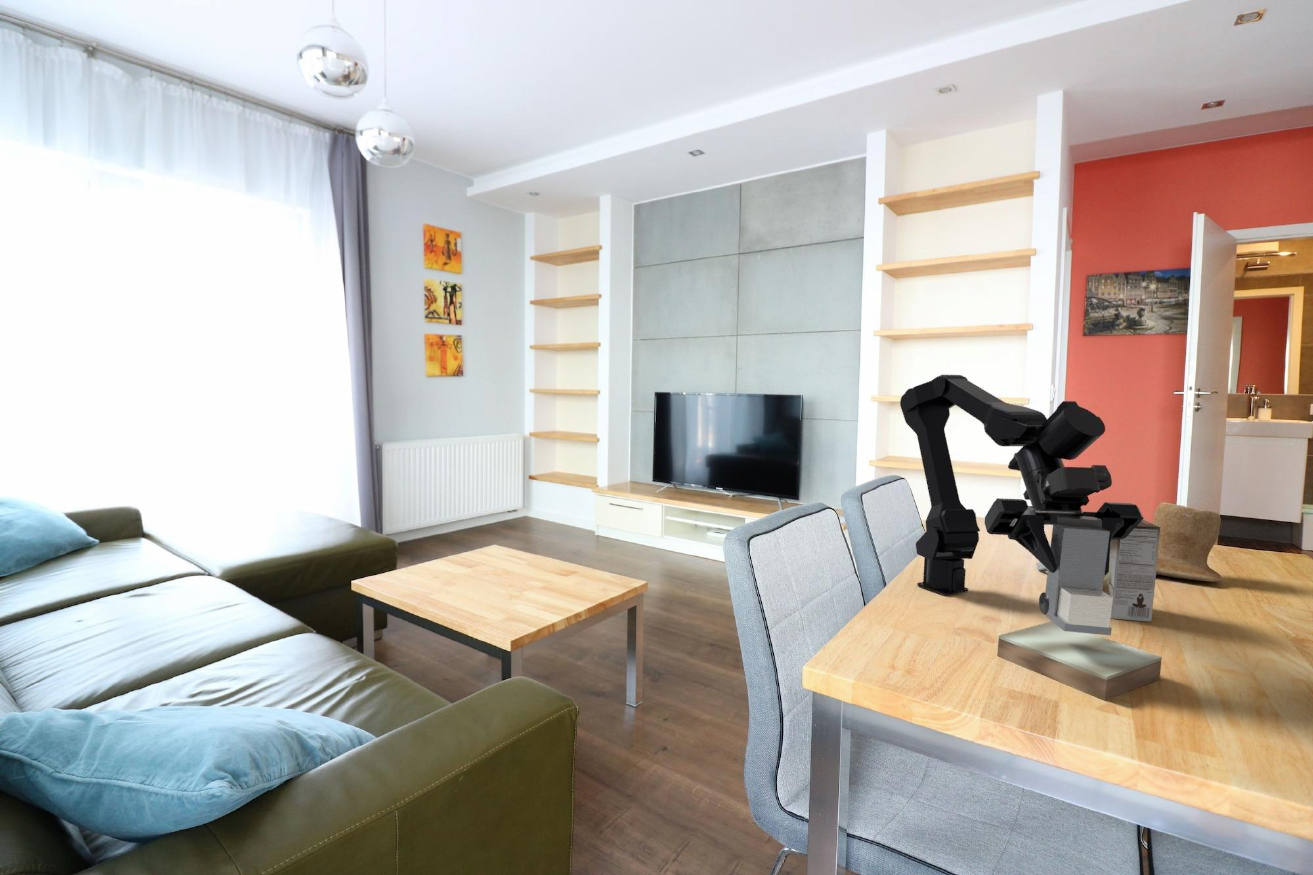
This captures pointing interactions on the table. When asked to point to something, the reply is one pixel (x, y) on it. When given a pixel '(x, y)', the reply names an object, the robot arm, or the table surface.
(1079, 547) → the hand trolley
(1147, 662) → the plate
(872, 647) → the table surface
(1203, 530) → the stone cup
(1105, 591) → the coffee box
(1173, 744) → the table surface
